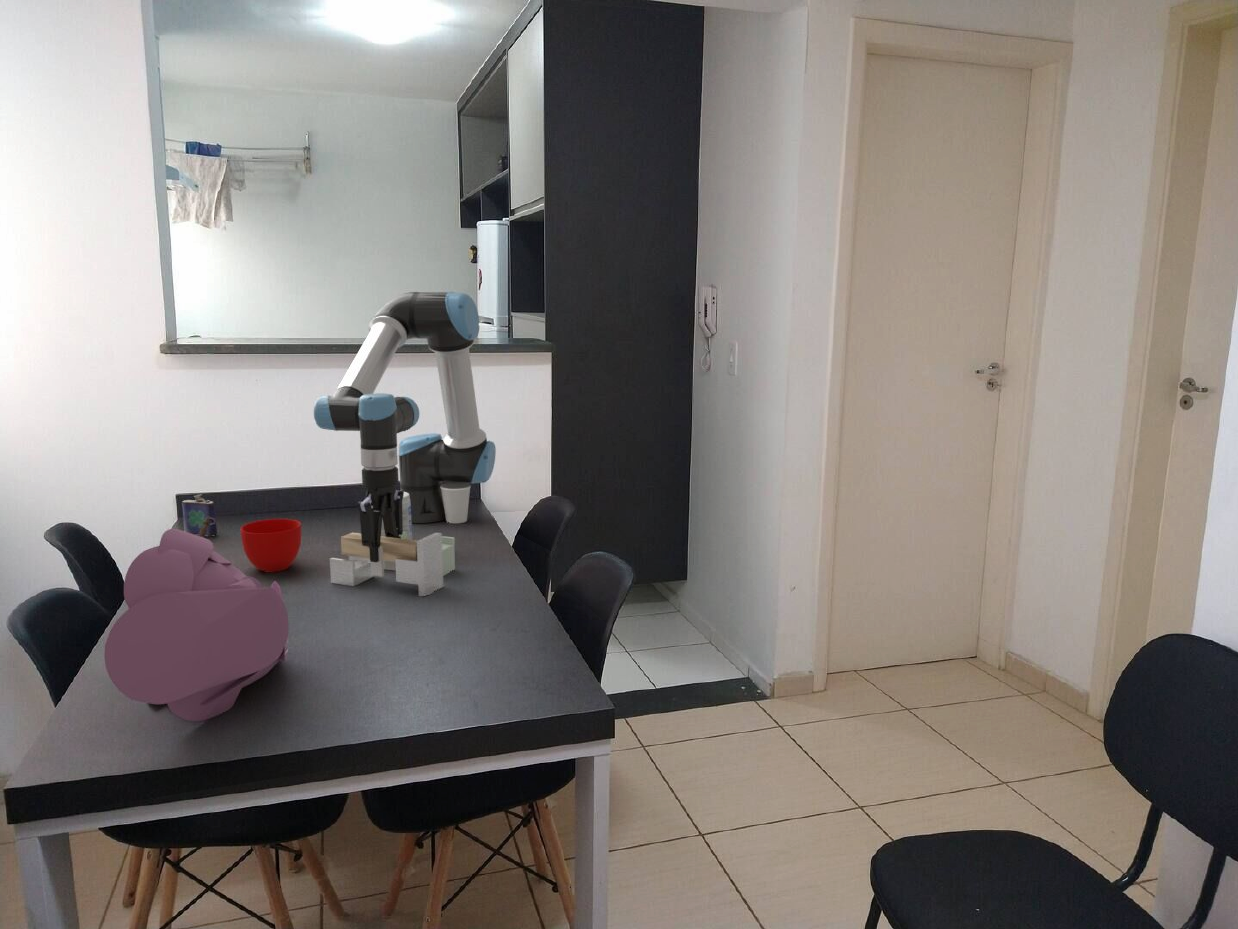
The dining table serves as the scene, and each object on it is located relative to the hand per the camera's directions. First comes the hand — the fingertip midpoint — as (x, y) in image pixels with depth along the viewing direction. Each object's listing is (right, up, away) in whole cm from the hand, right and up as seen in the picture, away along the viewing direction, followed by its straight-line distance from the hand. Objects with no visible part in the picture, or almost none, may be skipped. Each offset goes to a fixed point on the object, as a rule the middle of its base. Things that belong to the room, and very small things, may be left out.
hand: (384, 572), depth 196 cm
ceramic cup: (-28, 0, +13) cm, 31 cm away
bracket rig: (0, -3, +1) cm, 3 cm away
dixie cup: (+6, +8, +54) cm, 55 cm away
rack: (+4, -1, +12) cm, 12 cm away
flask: (-57, +5, +38) cm, 69 cm away
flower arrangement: (-15, -13, -50) cm, 54 cm away
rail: (0, +3, -1) cm, 3 cm away
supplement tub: (-4, +1, +23) cm, 24 cm away
